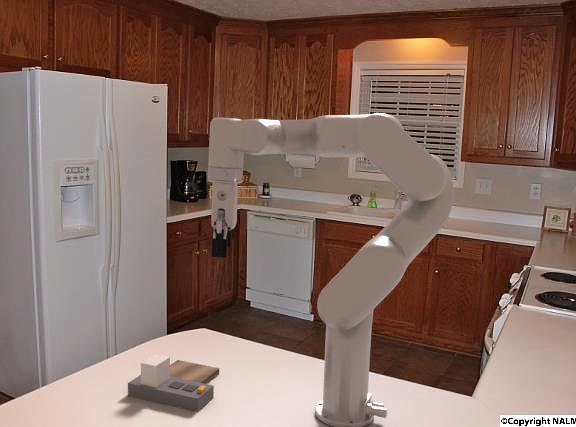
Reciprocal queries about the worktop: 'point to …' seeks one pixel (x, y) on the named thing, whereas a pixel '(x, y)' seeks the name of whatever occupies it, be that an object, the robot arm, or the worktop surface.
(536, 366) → the worktop surface
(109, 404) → the worktop surface
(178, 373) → the pad
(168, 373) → the block
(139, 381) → the power strip
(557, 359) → the worktop surface
